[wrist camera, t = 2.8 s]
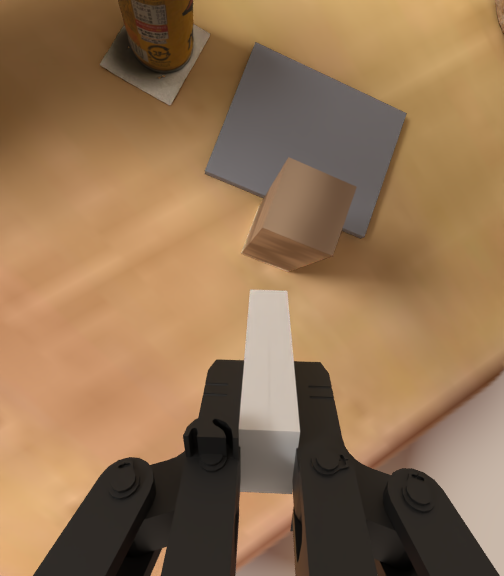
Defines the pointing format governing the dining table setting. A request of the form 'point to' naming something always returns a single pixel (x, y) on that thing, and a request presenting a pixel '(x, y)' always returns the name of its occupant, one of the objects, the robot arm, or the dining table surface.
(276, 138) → the mat
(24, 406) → the dining table surface
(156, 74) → the condiment
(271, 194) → the walnut block
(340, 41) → the dining table surface
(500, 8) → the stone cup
